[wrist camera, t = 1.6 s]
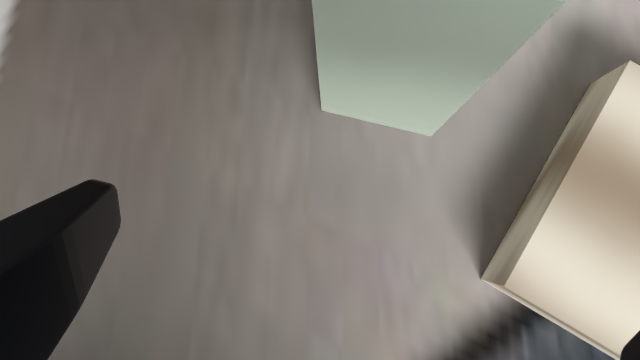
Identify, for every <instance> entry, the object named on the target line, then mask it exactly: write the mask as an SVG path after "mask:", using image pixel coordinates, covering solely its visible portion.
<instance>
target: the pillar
mask: <svg viewBox="0 0 640 360" xmlns="http://www.w3.org/2000/svg"><path fill="white" fill-rule="evenodd" d="M565 1H566V0H312V9H313V20H314V31H315V42H316V54H317V65H318V76H319V87H320V98H321V109H322V111H326V112H330V113H334V114H339V115H343V116H347V117H351V118H355V119H360V120H364V121H368V122H372V123H377V124H381V125H385V126H389V127H394V128H398V129H402V130H406V131H410V132H415V133H419V134H423V135H427V136H432V135H433V134H434V133H435V132H436V131H437V130H438V129H439V128H440V127H441V126H442V125H443V124H444V123H445V122H446V121H447V120H448V119H449V118H450V117H451V116H452V115H453V114H454V113H455V112H456V111H457V110H458V109H459V108H460V107H461V106H462V105H463V104H464V103H465V102H466V101H467V100H468V99H469V98H470V97H471V96H472V95H473V94H474V93H475V92H476V91H477V90H478V89H479V88H480V87H481V86H482V85H483V84H484V83H485V82H486V81H487V80H488V79H489V78H490V77H491V76H492V75H493V74H494V73H495V72H496V71H497V70H498V69H499V68H500V67H501V66H502V65H503V64H504V63H505V62H506V61H507V60H508V59H509V58H510V57H511V56H512V55H513V54H514V53H515V52H516V51H517V50H518V49H519V48H520V47H521V46H522V45H523V44H524V43H525V42H526V41H527V40H528V39H529V38H530V37H531V36H532V35H533V34H534V33H535V32H536V31H537V30H538V29H539V28H540V27H541V26H542V25H543V24H544V23H545V22H546V21H547V20H548V19H549V18H550V17H551V16H552V15H553V14H554V13H555V12H556V11H557V10H558V9H559V8H560V7H561V6H562V5H563V4H564V3H565Z"/></svg>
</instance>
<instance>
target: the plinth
mask: <svg viewBox="0 0 640 360" xmlns="http://www.w3.org/2000/svg"><path fill="white" fill-rule="evenodd" d="M481 280H483V281H484V282H486V283H488V284H489V285H491V286H493V287H494V288H496V289H498V290H500V291H501V292H503V293H505V294H506V295H508V296H510V297H511V298H513V299H515V300H516V301H518V302H520V303H521V304H523V305H525V306H527V307H528V308H530V309H532V310H533V311H535V312H537V313H538V314H540V315H542V316H543V317H545V318H547V319H548V320H550V321H552V322H553V323H555V324H557V325H559V326H560V327H562V328H564V329H565V330H567V331H569V332H570V333H572V334H574V335H575V336H577V337H579V338H580V339H582V340H584V341H585V342H587V343H589V344H591V345H592V346H594V347H596V348H597V349H599V350H601V351H602V352H604V353H606V354H607V355H609V356H611V357H612V358H614V359H616V360H620V356H621V352H622V349H623V348H624V346H625V345H626V344H627V343H628V342H629V341H630V340H631V339H632V338H633V337H634V336H635V334H636V333H637V332H638V331H639V330H640V65H638V64H636V63H634V62H632V61H630V60H629V61H628V62H626V63H624V64H623V65H621V66H619V67H617V68H616V69H614V70H612V71H611V72H609V73H607V74H605V75H604V76H602V77H600V78H599V79H597V80H595V81H594V82H592V83H590V85H589V87H588V89H587V90H586V92H585V94H584V96H583V97H582V99H581V101H580V103H579V105H578V106H577V108H576V110H575V112H574V113H573V115H572V117H571V119H570V121H569V122H568V124H567V126H566V128H565V129H564V131H563V133H562V135H561V137H560V138H559V140H558V142H557V144H556V146H555V147H554V149H553V151H552V153H551V154H550V156H549V158H548V160H547V162H546V163H545V165H544V167H543V169H542V170H541V172H540V174H539V176H538V178H537V179H536V181H535V183H534V185H533V186H532V188H531V190H530V192H529V194H528V195H527V197H526V199H525V201H524V203H523V204H522V206H521V208H520V210H519V211H518V213H517V215H516V217H515V219H514V220H513V222H512V224H511V226H510V227H509V229H508V231H507V233H506V235H505V236H504V238H503V240H502V242H501V243H500V245H499V247H498V249H497V251H496V252H495V254H494V256H493V258H492V260H491V261H490V263H489V265H488V267H487V268H486V270H485V272H484V274H483V276H482V277H481Z"/></svg>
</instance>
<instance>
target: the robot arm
mask: <svg viewBox="0 0 640 360" xmlns="http://www.w3.org/2000/svg"><path fill="white" fill-rule="evenodd" d="M120 223H121V216H120V209H119V201H118V194H117V189H116V187H115V186H114V185H112V184H110V183H106V182H102V181H98V180H93V179H91V180H87V181H84V182H82V183H80V184H78V185H76V186H74V187H72V188H69V189H67V190H65V191H63V192H61V193H59V194H57V195H54V196H52V197H50V198H48V199H46V200H44V201H41V202H39V203H37V204H35V205H33V206H31V207H29V208H26V209H24V210H22V211H20V212H18V213H16V214H13V215H11V216H9V217H7V218H5V219H3V220H1V221H0V360H48V358H49V356H50V355H51V353H52V352H53V350H54V349H55V347H56V346H57V344H58V342H59V341H60V339H61V338H62V336H63V335H64V333H65V332H66V330H67V328H68V327H69V325H70V324H71V322H72V321H73V319H74V317H75V316H76V314H77V312H78V311H79V309H80V307H81V305H82V304H83V302H84V300H85V298H86V296H87V294H88V292H89V290H90V288H91V286H92V284H93V282H94V280H95V278H96V276H97V274H98V272H99V270H100V268H101V266H102V264H103V262H104V259H105V257H106V255H107V253H108V251H109V249H110V247H111V245H112V243H113V241H114V239H115V237H116V235H117V233H118V231H119V228H120ZM620 360H640V330H639V331H638V332H637V333H636V334H635V336H634V337H633V338H632V339H631V340H630V341H629V342H628V343H627V344H626V345H625V346H624V348H623V349H622V352H621V356H620Z"/></svg>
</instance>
